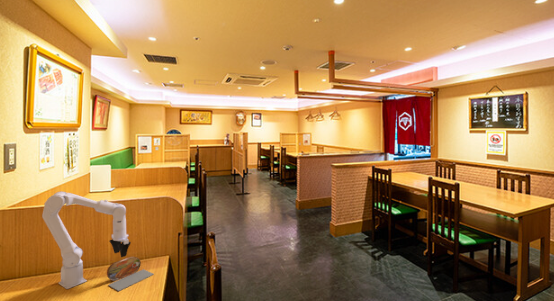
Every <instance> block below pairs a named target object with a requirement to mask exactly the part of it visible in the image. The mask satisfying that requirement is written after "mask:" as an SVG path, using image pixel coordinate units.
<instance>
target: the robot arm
mask: <svg viewBox="0 0 554 301" xmlns="http://www.w3.org/2000/svg"><path fill="white" fill-rule="evenodd" d="M64 205H65V206H66V207H68V206H71V205H79V206H82V207H83V206H84V207H88V208H92V209H93V208H94V210H95V212H97V213H102V214H105V215H112V218H113V219H112V233H111V239H109V243H110V245H111V247H112V249H113V253H114V254H117V253H120V257H121V258H124V257H126V256H127V254H128V251H129V247H130V245H131V241H129V239H128V237H130V236H129V233H127V219H126V214H127V208H126V206H125V205H124V204H122V203H117V202H110V201H108V199H104V200H103V199H100V200H98V201H97V200H94V199H91V198H87V197H85V196H81V195H78V194H74V193H72V192H66V191H57V192H54V193H53V195H51V196H49V197H48V198H47V200H46V201H44V207H43V211H42V215H41V217H42V219H43V221H44V224H46V227H47V228H48V230H49V231H50V233H51V235H52V237H53V239H54V241H55V242H56V244H57V245H58V247H59V249H60V255H61V257H62V266H61V267H60V268H61V269H60V281H59V282H58V284H59V285H60V286H61V287H63V288H64V289H66V290H69V289H71V288H74V287H76V286H79V285H81V284H83V283H86V282H87V279H86V278H85V277H84V265H83V262H84V261H83V260H82V259H81V258H82V256H83V253H84V251H83V249H82V248H80V247H79V246H78V245H77V243H75V242H74V241H73V240H72V237H71V236H70V234H69V231H68V229H67V228H66V226H65V225H64V222H63V221H62V219H61V217H60V215H59V213H60V211H61V209H62V207H64Z"/></svg>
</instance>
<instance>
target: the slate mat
mask: <svg viewBox="0 0 554 301" xmlns="http://www.w3.org/2000/svg"><path fill="white" fill-rule="evenodd" d="M154 274H155V273H152V272H150V271H148V270H146V269H144V268H143V269H141V270H138V271H137V272H136V273H134V274H132V275H129V276H127V277H124V278H122V279H119V280H116V281H114V282H112V283H110V284H108V285H107V286H108V287H110V288H112V289H114V290H115V291H117V292H121V291H123V290H125V289H127V288H129V287H131V286H133V285H136V284H137V283H140V282H141V281H144V280H146V279H147V278H150V277H152V276H154Z"/></svg>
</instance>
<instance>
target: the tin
mask: <svg viewBox="0 0 554 301" xmlns="http://www.w3.org/2000/svg"><path fill="white" fill-rule="evenodd" d="M141 264H142V262H141V260H140V258H139V257H136V256H129V257H126V258H124V259H122V260H117V261H115V262H113V263H111V264H110V265H109V266H108V268H107V269H106V277H107V278H108V279H109V280H110V281H114V282H116V281H118V280H120V279H123V278H125V277H127V276H129V275H132V274H134V273H136V272H138V271H139V270H140V268H141Z"/></svg>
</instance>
